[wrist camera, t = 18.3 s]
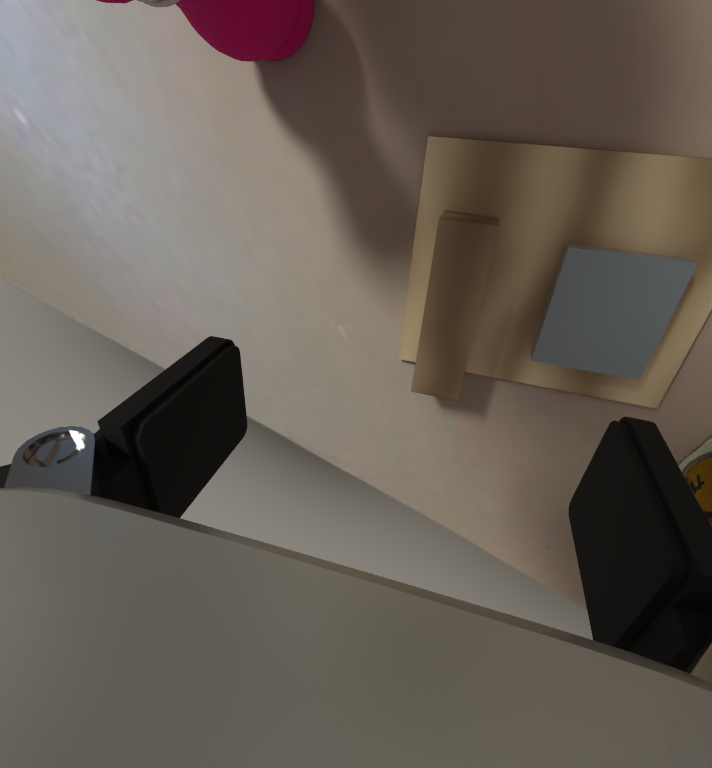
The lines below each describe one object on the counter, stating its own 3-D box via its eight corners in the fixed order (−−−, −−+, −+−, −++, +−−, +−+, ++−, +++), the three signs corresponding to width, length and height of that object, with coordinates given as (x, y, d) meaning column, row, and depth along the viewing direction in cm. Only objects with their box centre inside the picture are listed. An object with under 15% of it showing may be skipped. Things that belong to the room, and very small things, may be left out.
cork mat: (399, 356, 39) (397, 358, 39) (429, 136, 30) (428, 136, 29) (654, 404, 35) (657, 408, 35) (785, 164, 26) (791, 165, 25)
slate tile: (564, 241, 30) (529, 351, 35) (568, 247, 29) (531, 360, 34) (687, 256, 29) (633, 369, 34) (698, 263, 27) (639, 380, 32)
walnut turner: (418, 369, 39) (411, 391, 36) (444, 210, 32) (438, 218, 28) (461, 378, 38) (457, 401, 35) (498, 216, 31) (499, 226, 27)
